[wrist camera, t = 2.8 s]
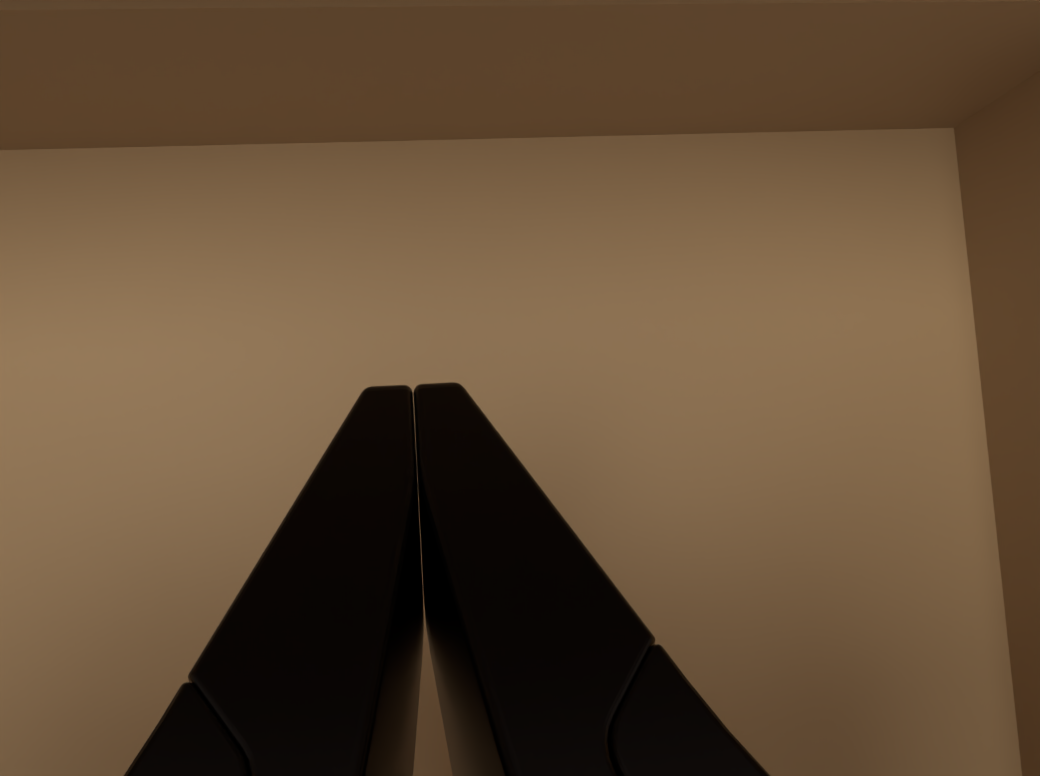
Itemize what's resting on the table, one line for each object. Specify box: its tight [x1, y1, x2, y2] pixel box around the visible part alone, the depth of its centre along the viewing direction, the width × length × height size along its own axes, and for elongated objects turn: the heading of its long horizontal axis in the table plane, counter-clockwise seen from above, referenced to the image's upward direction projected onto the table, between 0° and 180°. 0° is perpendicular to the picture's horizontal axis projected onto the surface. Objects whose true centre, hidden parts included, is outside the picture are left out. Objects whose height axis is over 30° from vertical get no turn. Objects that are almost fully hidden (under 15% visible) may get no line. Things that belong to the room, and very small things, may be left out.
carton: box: [0, 0, 1040, 776], centre depth 16 cm, size 16×24×6 cm, turn 94°
